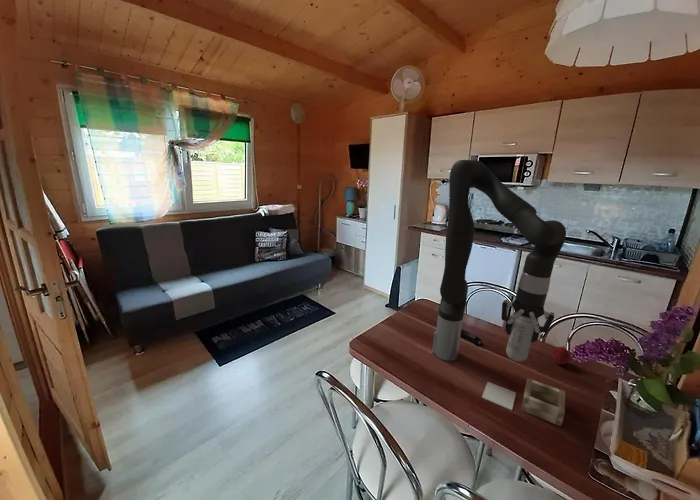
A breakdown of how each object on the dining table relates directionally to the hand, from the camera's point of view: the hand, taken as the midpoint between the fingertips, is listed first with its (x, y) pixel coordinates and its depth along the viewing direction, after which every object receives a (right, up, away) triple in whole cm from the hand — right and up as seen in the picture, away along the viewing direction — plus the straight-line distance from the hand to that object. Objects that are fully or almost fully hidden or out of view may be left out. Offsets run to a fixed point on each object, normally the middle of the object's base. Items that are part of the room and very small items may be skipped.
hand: (520, 337), depth 94 cm
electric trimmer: (-2, -12, +41) cm, 43 cm away
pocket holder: (+8, -23, +3) cm, 25 cm away
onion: (+29, -18, +25) cm, 42 cm away
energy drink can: (0, -7, +2) cm, 7 cm away
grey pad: (-3, -22, +7) cm, 23 cm away
